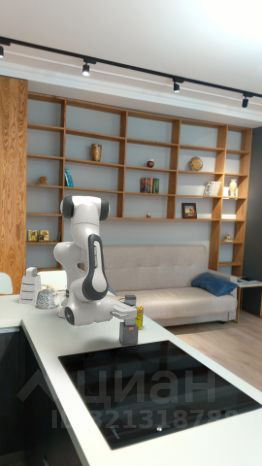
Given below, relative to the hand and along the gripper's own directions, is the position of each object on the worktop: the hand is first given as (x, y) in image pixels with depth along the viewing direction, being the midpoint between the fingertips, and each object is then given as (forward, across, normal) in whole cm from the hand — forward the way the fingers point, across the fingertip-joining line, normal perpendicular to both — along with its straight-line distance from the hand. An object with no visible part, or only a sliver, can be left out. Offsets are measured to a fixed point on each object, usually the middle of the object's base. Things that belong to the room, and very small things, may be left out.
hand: (131, 305), depth 149 cm
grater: (-11, +81, +18) cm, 84 cm away
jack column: (-1, 0, +13) cm, 13 cm away
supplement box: (+14, +13, +17) cm, 26 cm away
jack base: (-1, 0, +17) cm, 17 cm away
